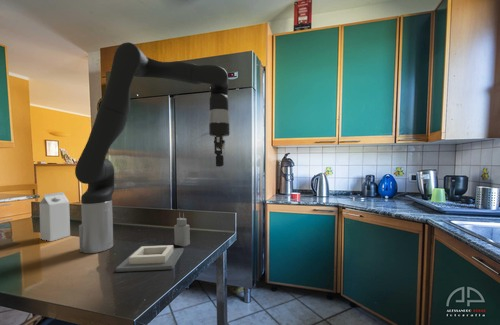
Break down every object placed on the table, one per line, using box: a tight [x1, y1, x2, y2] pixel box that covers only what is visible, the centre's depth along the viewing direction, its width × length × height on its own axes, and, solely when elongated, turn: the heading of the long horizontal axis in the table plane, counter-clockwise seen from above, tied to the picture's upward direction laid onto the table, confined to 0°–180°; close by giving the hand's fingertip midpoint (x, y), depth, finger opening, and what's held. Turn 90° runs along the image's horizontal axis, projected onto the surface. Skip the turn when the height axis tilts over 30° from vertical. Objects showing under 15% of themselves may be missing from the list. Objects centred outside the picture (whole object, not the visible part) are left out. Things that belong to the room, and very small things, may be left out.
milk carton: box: [38, 191, 71, 242], centre depth 93 cm, size 7×7×19 cm
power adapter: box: [173, 211, 191, 247], centre depth 84 cm, size 3×5×12 cm, turn 64°
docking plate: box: [115, 244, 184, 273], centre depth 70 cm, size 16×13×3 cm
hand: (219, 166), depth 83 cm, fingers open, 8 cm apart
